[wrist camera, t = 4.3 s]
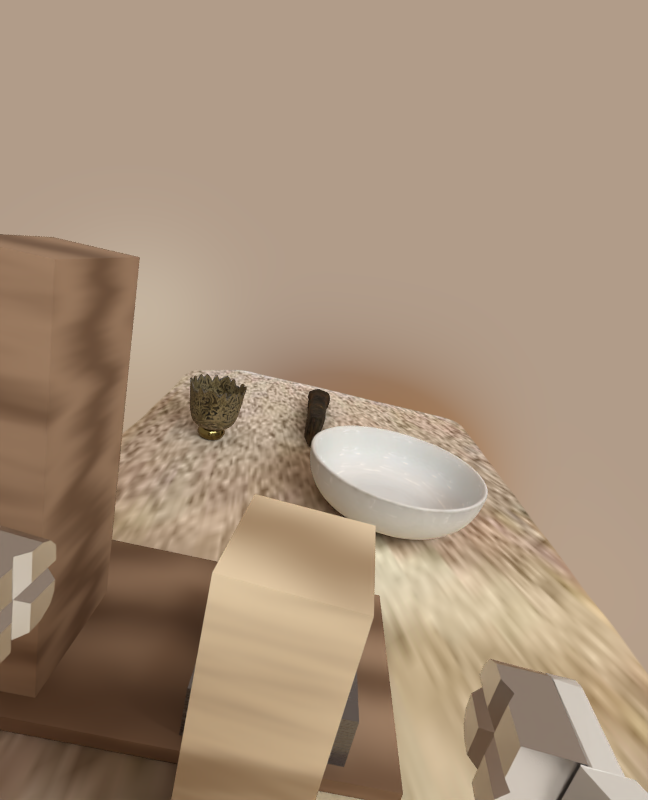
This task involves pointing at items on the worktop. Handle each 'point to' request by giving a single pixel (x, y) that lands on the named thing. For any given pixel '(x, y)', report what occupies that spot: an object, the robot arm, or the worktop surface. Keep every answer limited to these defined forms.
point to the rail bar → (276, 654)
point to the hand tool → (316, 413)
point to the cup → (215, 404)
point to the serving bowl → (395, 482)
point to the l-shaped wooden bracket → (108, 559)
